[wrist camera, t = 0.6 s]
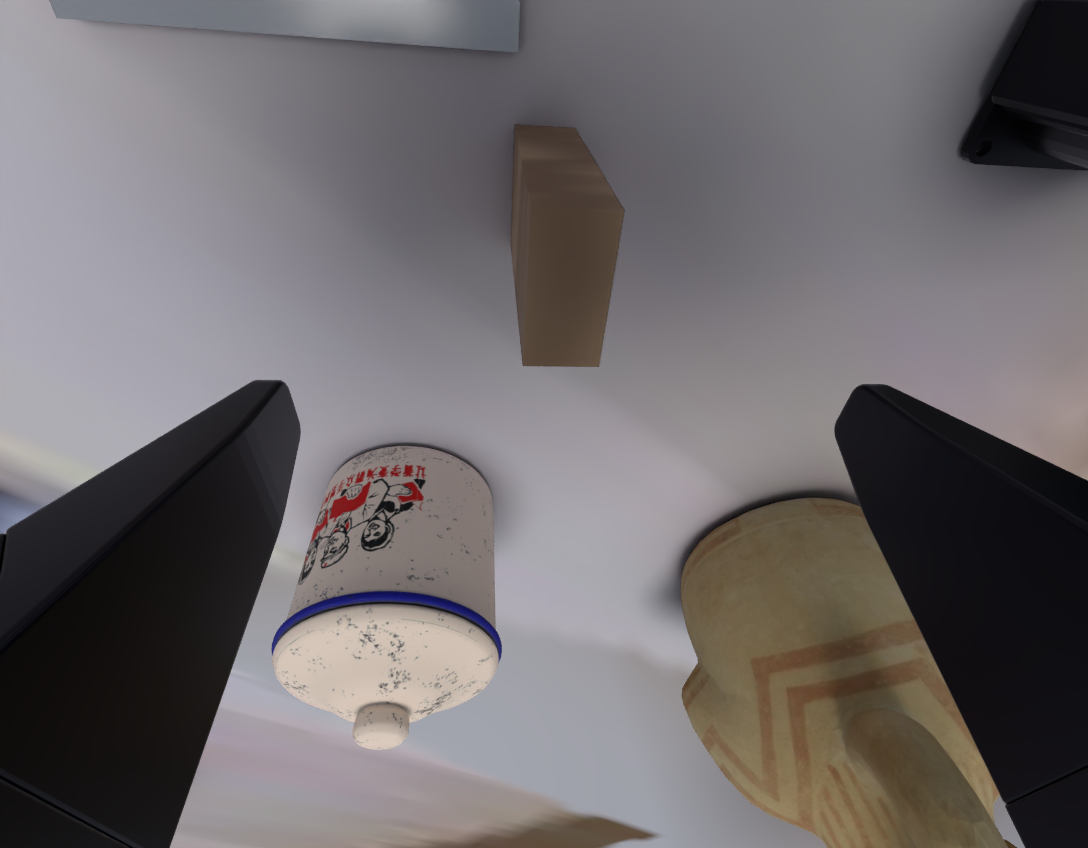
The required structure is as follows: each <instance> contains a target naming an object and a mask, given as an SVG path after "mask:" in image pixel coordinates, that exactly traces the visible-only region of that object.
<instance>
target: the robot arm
mask: <svg viewBox="0 0 1088 848" xmlns="http://www.w3.org/2000/svg"><path fill="white" fill-rule="evenodd" d="M983 142H984V143H983ZM981 143H983V146H982V148H981V149H980V150H979V151H977V148H978V147H979V145H980V144H981ZM976 151H977V152H976ZM961 156H962V158H963V160H966V161H969V162H971V163H974V164H985V165H1002V166H1020V167H1037V168H1054V169H1072V170H1088V0H1039V1H1038V3H1037V5H1036V7H1035V9H1034V11H1033V13H1032V15H1031V17H1030V19H1029V20H1028V22H1027V24H1026V26H1025V28H1024V30H1023V32H1022V34H1021V36H1020V38H1019V39H1018V41H1017V43H1016V45H1015V47H1014V49H1013V51H1012V53H1011V55H1010V57H1009V59H1008V60H1007V62H1006V64H1005V66H1004V68H1003V70H1002V72H1001V74H1000V76H999V78H998V79H997V81H996V83H995V85H994V87H993V89H992V91H991V93H990V95H989V97H988V99H987V100H986V102H985V104H984V106H983V108H982V110H981V112H980V114H979V116H978V118H977V119H976V121H975V123H974V125H973V127H972V129H971V131H970V133H969V135H968V137H967V139H966V140H965V142H964V144H963V147H962V150H961ZM834 432H835V438H836V441H837V444H838V446H839V449H840V452H841V455H842V457H843V460H844V463H845V466H846V468H847V471H848V474H849V477H850V480H851V482H852V485H853V488H854V491H855V493H856V496H857V499H858V502H859V504H860V507H861V509H862V512H863V514H864V517H865V519H866V521H867V523H868V525H869V528H870V530H871V532H872V534H873V536H874V538H875V540H876V542H877V544H878V546H879V548H880V550H881V552H882V554H883V556H884V558H885V560H886V562H887V564H888V567H889V569H890V571H891V573H892V575H893V577H894V579H895V581H896V583H897V585H898V587H899V589H900V591H901V593H902V595H903V597H904V599H905V601H906V603H907V605H908V607H909V610H910V612H911V614H912V616H913V618H914V620H915V622H916V624H917V626H918V628H919V630H920V632H921V634H922V636H923V638H924V640H925V642H926V644H927V646H928V648H929V650H930V653H931V655H932V657H933V659H934V661H935V663H936V665H937V667H938V669H939V671H940V673H941V675H942V677H943V679H944V681H945V683H946V685H947V687H948V689H949V691H950V693H951V696H952V698H953V700H954V702H955V704H956V706H957V708H958V710H959V712H960V714H961V716H962V718H963V720H964V722H965V724H966V726H967V728H968V730H969V732H970V734H971V736H972V738H973V741H974V743H975V745H976V747H977V749H978V751H979V753H980V755H981V757H982V759H983V761H984V763H985V765H986V767H987V769H988V771H989V773H990V775H991V777H992V779H993V781H994V784H995V786H996V788H997V790H998V792H999V794H1000V796H1001V798H1002V800H1003V801H1004V802H1005V803H1007V804H1006V805H1005V807H1006V809H1007V811H1008V813H1009V815H1010V817H1011V819H1012V821H1013V824H1014V826H1015V828H1016V830H1017V832H1018V834H1019V836H1020V838H1021V840H1022V842H1023V844H1024V846H1025V848H1088V481H1087V480H1085V479H1083V478H1081V477H1079V476H1077V475H1075V474H1073V473H1071V472H1068V471H1066V470H1064V469H1062V468H1060V467H1058V466H1056V465H1054V464H1052V463H1050V462H1047V461H1045V460H1043V459H1041V458H1039V457H1037V456H1035V455H1033V454H1031V453H1029V452H1027V451H1024V450H1022V449H1020V448H1018V447H1016V446H1014V445H1012V444H1010V443H1008V442H1006V441H1003V440H1001V439H999V438H997V437H995V436H993V435H991V434H989V433H987V432H985V431H983V430H980V429H978V428H976V427H974V426H972V425H970V424H968V423H966V422H964V421H962V420H959V419H957V418H955V417H953V416H951V415H949V414H947V413H945V412H943V411H941V410H938V409H936V408H934V407H932V406H930V405H928V404H926V403H924V402H922V401H920V400H918V399H915V398H913V397H911V396H909V395H907V394H905V393H903V392H901V391H899V390H897V389H894V388H892V387H890V386H888V385H884V384H862V385H859V386H858V387H856V388H855V389H854V390H853V392H852V393H851V395H850V397H849V399H848V401H847V403H846V404H845V406H844V408H843V410H842V412H841V414H840V415H839V417H838V419H837V421H836V424H835V430H834ZM300 433H301V431H300V423H299V419H298V416H297V413H296V410H295V407H294V403H293V400H292V397H291V394H290V391H289V388H288V386H287V385H286V383H284V382H283V381H281V380H255V381H252V382H250V383H249V384H247V385H245V386H244V387H242V388H240V389H239V390H237V391H235V392H234V393H232V394H230V395H229V396H227V397H226V398H224V399H222V400H221V401H219V402H217V403H216V404H214V405H212V406H211V407H209V408H207V409H206V410H204V411H202V412H201V413H199V414H197V415H196V416H194V417H192V418H191V419H189V420H187V421H186V422H184V423H182V424H181V425H179V426H177V427H176V428H174V429H172V430H171V431H169V432H167V433H166V434H164V435H163V436H161V437H159V438H158V439H156V440H154V441H153V442H151V443H149V444H148V445H146V446H144V447H143V448H141V449H139V450H138V451H136V452H134V453H133V454H131V455H129V456H128V457H126V458H124V459H123V460H121V461H119V462H118V463H116V464H114V465H113V466H111V467H109V468H108V469H106V470H104V471H103V472H101V473H99V474H98V475H96V476H95V477H93V478H91V479H90V480H88V481H86V482H85V483H83V484H81V485H80V486H78V487H76V488H75V489H73V490H71V491H70V492H68V493H66V494H65V495H63V496H61V497H60V498H58V499H56V500H55V501H53V502H51V503H50V504H48V505H46V506H45V507H43V508H41V509H40V510H38V511H36V512H35V513H33V514H31V515H30V516H28V517H26V518H25V519H23V520H22V521H20V522H18V523H17V524H15V525H13V526H12V527H10V528H9V529H7V532H6V534H0V848H170V845H171V842H172V839H173V836H174V834H175V831H176V828H177V825H178V822H179V819H180V816H181V813H182V811H183V808H184V805H185V802H186V799H187V796H188V793H189V790H190V788H191V785H192V782H193V779H194V776H195V773H196V770H197V767H198V765H199V762H200V759H201V756H202V753H203V750H204V747H205V744H206V741H207V739H208V736H209V733H210V730H211V727H212V724H213V721H214V718H215V716H216V713H217V710H218V707H219V704H220V701H221V698H222V695H223V693H224V690H225V687H226V684H227V681H228V678H229V675H230V672H231V669H232V667H233V664H234V661H235V658H236V655H237V652H238V649H239V646H240V644H241V641H242V638H243V635H244V632H245V629H246V626H247V623H248V621H249V617H250V615H251V612H252V609H253V606H254V603H255V600H256V597H257V595H258V591H259V589H260V586H261V583H262V580H263V577H264V574H265V572H266V569H267V566H268V563H269V560H270V557H271V554H272V551H273V549H274V546H275V543H276V540H277V537H278V534H279V531H280V527H281V524H282V520H283V516H284V512H285V508H286V503H287V498H288V493H289V489H290V484H291V479H292V474H293V469H294V465H295V460H296V455H297V450H298V446H299V441H300Z"/></svg>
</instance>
